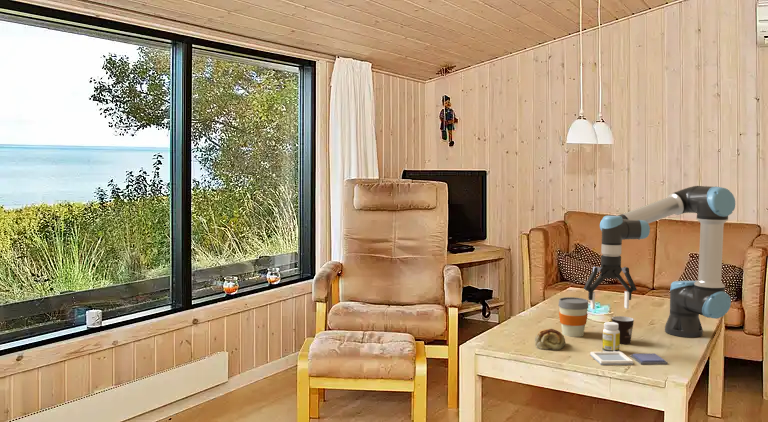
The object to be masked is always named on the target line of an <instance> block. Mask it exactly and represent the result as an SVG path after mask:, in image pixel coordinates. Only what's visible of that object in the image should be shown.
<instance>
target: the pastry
mask: <svg viewBox="0 0 768 422" xmlns="http://www.w3.org/2000/svg"><path fill="white" fill-rule="evenodd" d="M534 342H535V347H536V348H537V350H544V351H547V350H549V351H550V350H551V351H559V350H562V349H564V347H565V346H566V339H565V335H563V334H562V332H560V331H559V330H557V329H554V328H545V329H541V330H540V331H538V332H537V334H536V336H535V338H534Z"/></svg>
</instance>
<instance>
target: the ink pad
mask: <svg viewBox="0 0 768 422" xmlns="http://www.w3.org/2000/svg"><path fill="white" fill-rule="evenodd" d="M629 358H632V360H633V361H636V362H637V363H638V364H640V365H642V366H644V365H646V366H647V365H669V364H668V361H667V360H666V359H664V358H662V357H661V356H659V355H658V354H656V353H632V354H630V356H629Z"/></svg>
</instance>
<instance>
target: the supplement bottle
mask: <svg viewBox="0 0 768 422" xmlns="http://www.w3.org/2000/svg"><path fill="white" fill-rule="evenodd" d="M618 328H619V327H618V323H615V322H612V321H605V322H604V323H603V330H602V352H620V345H621V344H620V331H619V330H618Z"/></svg>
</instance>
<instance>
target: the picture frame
mask: <svg viewBox="0 0 768 422" xmlns="http://www.w3.org/2000/svg"><path fill="white" fill-rule="evenodd" d="M589 354H590V355H589V356H591V358H592V359H594V360H595V361H596V362H597V363H598V364H600V366H615V365H617V366H626V365H627V366H629V365H630V366H631V365H632V366H633V365H634V359H631V357H630V356H627V355H626V354H625V353H624V352H623V351H619V352H604V351H590V352H589Z"/></svg>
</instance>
